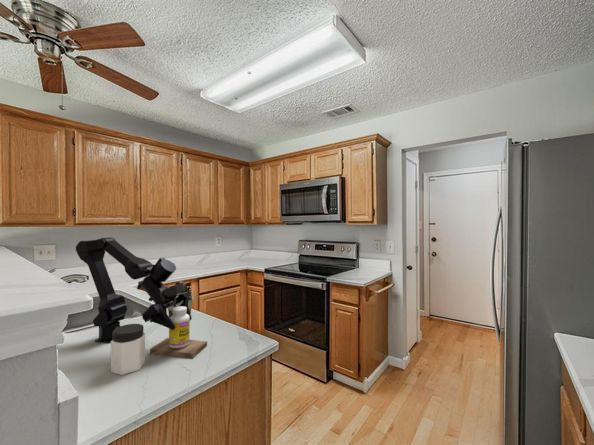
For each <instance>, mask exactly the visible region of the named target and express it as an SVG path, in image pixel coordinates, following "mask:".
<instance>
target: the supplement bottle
mask: <svg viewBox="0 0 594 445" xmlns="http://www.w3.org/2000/svg"><path fill="white" fill-rule="evenodd" d="M186 311H187V307H184V306H179V307H175V308H173V309H172V313H173V315H172V316H171V317H170V320H171V321H172V322H173V324H174V326H175V329H174V330H172V329H169V328H168V338H169V346H170V347H171V348H182V347H185V346H187V345H188V344H189V340H190V333H191V332H190V326H191V325H190V322H191V320H190V317H189V315H188V314H186Z"/></svg>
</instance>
